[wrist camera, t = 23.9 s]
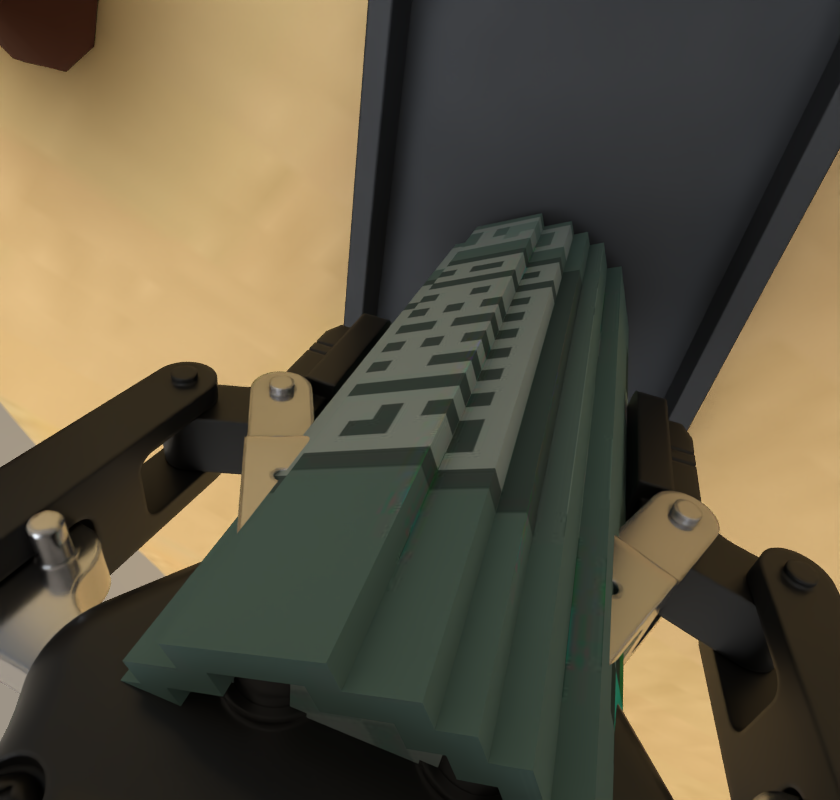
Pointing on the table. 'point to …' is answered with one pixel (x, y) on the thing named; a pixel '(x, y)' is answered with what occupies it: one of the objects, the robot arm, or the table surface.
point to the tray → (600, 153)
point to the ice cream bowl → (48, 30)
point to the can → (444, 533)
